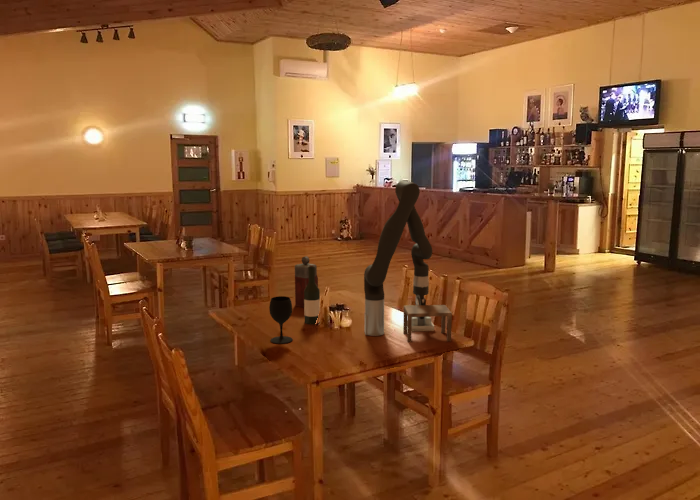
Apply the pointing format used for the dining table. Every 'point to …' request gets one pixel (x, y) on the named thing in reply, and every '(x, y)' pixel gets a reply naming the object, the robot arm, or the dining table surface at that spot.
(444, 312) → the counter shelf
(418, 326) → the tray
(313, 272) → the wine bottle
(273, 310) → the wine glass
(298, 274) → the pepper mill
